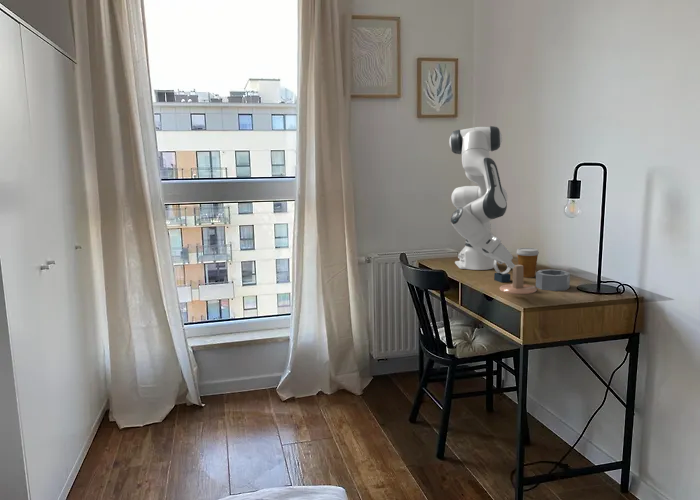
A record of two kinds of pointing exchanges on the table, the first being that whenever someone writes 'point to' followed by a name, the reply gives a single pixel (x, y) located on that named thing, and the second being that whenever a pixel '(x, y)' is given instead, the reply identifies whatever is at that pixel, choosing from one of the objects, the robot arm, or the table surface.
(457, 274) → the table surface
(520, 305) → the table surface
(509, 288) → the lid
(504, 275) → the watch
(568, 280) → the bowl
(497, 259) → the robot arm
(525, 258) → the disposable coffee cup
